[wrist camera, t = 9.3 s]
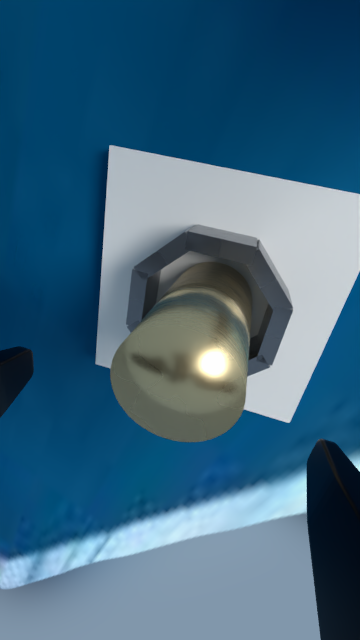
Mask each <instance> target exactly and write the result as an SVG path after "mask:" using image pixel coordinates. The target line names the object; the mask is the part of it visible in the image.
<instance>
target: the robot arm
mask: <svg viewBox="0 0 360 640" xmlns="http://www.w3.org/2000/svg"><path fill="white" fill-rule="evenodd" d="M33 370H34V369H33V353H32V351H31V350H30V349H27V348H24V347H14V348H10V349H6V350H2V351H0V417H1V416H2V415H3V414H4V412H5V411H6V410H7V409H8V407H9V406H10V405H11V403H12V402H13V401H14V400H15V398H16V397H17V396H18V394H19V393H20V392H21V390H22V389H23V388H24V386H25V385H26V384H27V383H28V381H29V380H30V379H31V377H32V375H33ZM307 524H308V534H309V542H310V551H311V559H312V568H313V576H314V586H315V594H316V602H317V611H318V620H319V627H320V637H321V640H360V472H359V471H358V469H357V468H356V467H355V466H354V465H353V463H352V462H351V461H350V460H349V459H348V457H347V456H346V455H345V454H344V453H343V451H342V450H341V449H340V448H339V447H338V445H337V444H336V443H334V442H331V441H328V440H324V439H319V440H318V441H317V443H316V445H315V447H314V448H313V450H312V452H311V454H310V456H309V458H308V461H307Z"/></svg>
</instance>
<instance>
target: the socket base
mask: <svg viewBox="0 0 360 640" xmlns="http://www.w3.org/2000/svg"><path fill="white" fill-rule="evenodd" d="M198 224H199V225H203V226H207V227H212V228H216V229H221V230H225V231H230V232H234V233H238V234H243V235H247V236H252V237H256V238H257V241H258V240H259V239H260V241H261V243H262V245H263V246H264V248H265V250H266V252H267V253H268V255H269V257H270V259H271V260H272V262H273V264H274V266H275V267H276V269H277V271H278V273H279V274H280V276H281V278H282V280H283V281H284V283H285V285H286V287H287V288H288V290H289V294H290V298H291V301H292V305H293V312H292V315H291V318H290V320H289V323H288V325H287V328H286V331H285V333H284V336H283V338H282V341H281V344H280V346H279V349H278V352H277V354H276V357H275V359H274V362H273V365H270V368H268V369H265V370H263V371H260V372H258V373H255V374H253V375H250V376H248V377H247V386H246V399H245V405H244V409H245V410H248V411H251V412H255V413H258V414H261V415H264V416H268V417H271V418H274V419H277V420H281V421H284V422H287V423H290V421H291V418H292V416H293V414H294V412H295V410H296V408H297V405H298V403H299V401H300V399H301V397H302V395H303V392H304V390H305V388H306V386H307V384H308V382H309V379H310V377H311V375H312V373H313V371H314V369H315V366H316V364H317V362H318V360H319V358H320V356H321V353H322V351H323V349H324V347H325V345H326V343H327V340H328V338H329V336H330V334H331V332H332V330H333V327H334V325H335V323H336V321H337V319H338V317H339V314H340V312H341V310H342V308H343V306H344V304H345V301H346V299H347V297H348V295H349V293H350V291H351V288H352V286H353V284H354V282H355V280H356V278H357V275H358V273H359V271H360V194H356V193H351V192H345V191H340V190H335V189H330V188H325V187H320V186H315V185H310V184H305V183H300V182H295V181H290V180H285V179H280V178H274V177H269V176H264V175H259V174H254V173H249V172H244V171H239V170H234V169H229V168H224V167H219V166H214V165H209V164H203V163H198V162H193V161H188V160H183V159H178V158H173V157H168V156H163V155H158V154H153V153H148V152H143V151H137V150H132V149H127V148H122V147H117V146H112V145H109V161H108V176H107V192H106V207H105V223H104V238H103V254H102V269H101V284H100V300H99V315H98V331H97V346H96V362H95V364H97V365H101V366H104V367H107V368H110V369H111V364H112V360H113V357H114V355H115V353H116V351H117V349H118V348H119V346H120V345H121V344H122V343H123V341H124V340H125V339H126V338H127V337H128V336H129V334H130V333H131V332H130V331H129V329H128V328H127V326H128V325H126V319H127V310H128V302H129V293H130V284H131V275H132V269H133V268H134V266H136V265H137V264H139V263H140V262H141V261H143V260H144V259H146V258H147V257H149V256H150V255H152V254H153V253H154V252H156V251H157V250H159V249H160V248H162V247H163V246H165V245H166V244H168V243H169V242H170V241H172V240H173V239H175V238H176V237H178V236H179V235H181V234H182V233H183V232H185V231H187V230H188V229H190V228H191V227H193V226H194V225H198ZM203 262H219V263H223V264H226V265H228V266H231V267H232V268H234V269H236V270H237V271H238V272H239V273H240V274H241V275H242V276H243V277H244V278H245V280H246V281H247V283H248V285H249V286H250V289H251V293H252V301H253V303H252V316H251V330H250V338H252V337H254V336H256V335H258V332H259V329H260V327H261V324H262V321H263V318H264V315H265V312H266V309H267V306H268V301H267V299H266V298H265V296H264V294H263V293H262V291H261V289H260V288H259V286H258V284H257V283H256V281H255V279H254V278H253V276H252V274H251V273H250V271H249V269H248V268H247V266H246V264H243V263H239V262H235V261H231V260H227V259H222V258H218V257H214V256H210V255H206V254H202V253H197V252H193V251H189V252H187V253H186V254H184V255H183V256H181V257H179V258H178V259H176V260H175V261H173V262H172V263H170V264H169V265H167V266H166V267H164V268H163V269H161V275H160V281H159V287H158V294H157V300H156V303H157V302H158V301H159V300H160V299H161V298H162V296H163V295H164V294H165V293H166V292H167V291H168V289H169V288H170V287H171V286H172V285H173V284H174V283H175V281H176V280H177V279H178V278H179V277H180V276H181V274H182V273H183V272H185V271H186V270H187V269H188V268H190V267H192V266H194V265H196V264H199V263H203Z"/></svg>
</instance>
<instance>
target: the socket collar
mask: <svg viewBox="0 0 360 640" xmlns="http://www.w3.org/2000/svg"><path fill="white" fill-rule="evenodd" d="M189 251H193V252H197V253H202V254H206V255H210V256H214V257H218V258H222V259H227V260H231V261H235V262H239V263H243V264H246V266H247V268H248V269H249V271H250V273H251V274H252V276H253V278H254V279H255V281H256V283H257V284H258V286H259V288H260V289H261V291H262V293H263V294H264V296H265V298H266V299H267V301H268V306H267V309H266V312H265V315H264V318H263V321H262V324H261V327H260V329H259V332H258V335H256V336H254V337H252V338H250V344H249V358H248V372H247V377H248V376H250V375H253V374H255V373H258V372H260V371H263V370H265V369H268V368H270V365H273V362H274V359H275V357H276V354H277V352H278V349H279V346H280V344H281V341H282V338H283V336H284V333H285V331H286V328H287V325H288V323H289V320H290V318H291V315H292V312H293V305H292V301H291V298H290V294H289V290H288V288H287V287H286V285H285V283H284V281H283V280H282V278H281V276H280V274H279V273H278V271H277V269H276V267H275V266H274V264H273V262H272V260H271V259H270V257H269V255H268V253H267V252H266V250H265V248H264V246H263V245H262V243H261V241H260V239H259V240H258V241H257V238H256V237H252V236H247V235H243V234H238V233H234V232H230V231H225V230H221V229H216V228H212V227H207V226H203V225H199V224H198V225H194V226H193V227H191V228H190V229H188V230H187V231H185V232H183V233H182V234H181V235H179V236H178V237H176V238H175V239H173V240H172V241H170V242H169V243H168V244H166V245H165V246H163V247H162V248H160V249H159V250H157V251H156V252H154V253H153V254H152V255H150V256H149V257H147V258H146V259H144V260H143V261H141V262H140V263H139V264H137V265H136V266H134V268H133V269H132V275H131V284H130V293H129V302H128V310H127V319H126V325H128V326H127V328H128V329H129V331H130V332H132V331H133V330H134V329H135V328H136V326H137V325H138V324H139V323H140V322H141V321H142V319H143V318H144V317H145V316H146V315H147V314H148V313H149V311H150V310H151V309H152V308H153V307H154V306H155V304H156V300H157V294H158V287H159V281H160V275H161V269H163V268H164V267H166V266H167V265H169V264H170V263H172V262H173V261H175V260H176V259H178V258H179V257H181V256H183V255H184V254H186V253H187V252H189Z"/></svg>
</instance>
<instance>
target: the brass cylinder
mask: <svg viewBox="0 0 360 640" xmlns="http://www.w3.org/2000/svg"><path fill="white" fill-rule="evenodd" d="M252 303H253V301H252V293H251V289H250V286H249V285H248V283H247V281H246V280H245V278H244V277H243V276H242V275H241V274H240V273H239V272H238V271H237V270H236V269H234V268H232V267H231V266H228V265H226V264H223V263H219V262H203V263H199V264H196V265H194V266H192V267H190V268H188V269H187V270H186V271H185V272H183V273H182V274H181V276H180V277H179V278H178V279H177V280H176V281H175V283H174V284H173V285H172V286H171V287H170V288H169V289H168V291H167V292H166V293H165V294H164V295H163V296H162V298H161V299H160V300H159V301H158V302H157V303H156V304H155V306H154V307H153V308H152V309H151V310H150V311H149V313H148V314H147V315H146V316H145V317H144V318H143V319H142V321H141V322H140V323H139V324H138V325H137V326H136V328H135V329H134V330H133V331H132V332H131V333H130V334H129V336H128V337H127V338H126V339H125V340H124V341H123V343H122V344H121V345H120V346H119V348H118V349H117V351H116V353H115V355H114V357H113V360H112V364H111V373H110V377H111V384H112V388H113V391H114V394H115V396H116V398H117V400H118V402H119V404H120V405H121V407H122V408H123V409H124V411H125V412H126V413H127V414H128V415H129V416H130V417H131V418H132V419H133V420H134V421H135V422H136V423H138V424H139V425H140V426H142V427H143V428H145V429H146V430H148V431H150V432H152V433H154V434H156V435H158V436H161V437H163V438H166V439H170V440H175V441H180V442H199V441H205V440H209V439H212V438H215V437H217V436H220V435H221V434H223V433H225V432H226V431H228V430H229V429H230V428H231V427H232V426H233V425H234V424H235V423H236V422H237V420H238V419H239V417H240V416H241V413H242V411H243V409H244V405H245V399H246V386H247V372H248V358H249V344H250V330H251V316H252Z"/></svg>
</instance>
